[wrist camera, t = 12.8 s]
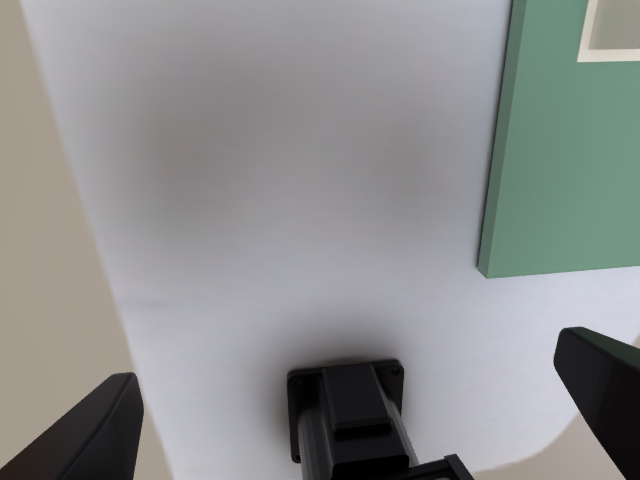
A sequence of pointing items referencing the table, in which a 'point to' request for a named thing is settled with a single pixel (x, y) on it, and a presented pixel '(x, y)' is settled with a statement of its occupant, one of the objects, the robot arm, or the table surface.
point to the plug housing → (616, 25)
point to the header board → (563, 149)
